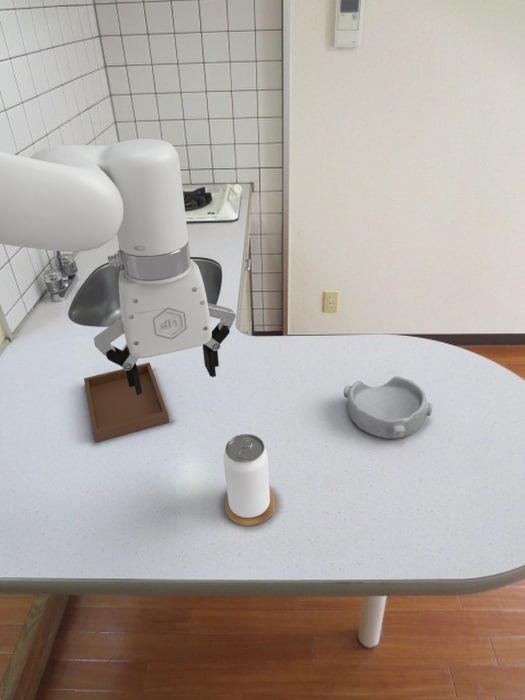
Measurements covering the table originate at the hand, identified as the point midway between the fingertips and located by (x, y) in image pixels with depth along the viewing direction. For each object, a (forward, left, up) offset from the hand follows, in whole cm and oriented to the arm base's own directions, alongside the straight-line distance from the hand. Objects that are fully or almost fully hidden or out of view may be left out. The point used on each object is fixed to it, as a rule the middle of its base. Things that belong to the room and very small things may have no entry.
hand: (174, 379), depth 68 cm
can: (+5, -7, -25) cm, 26 cm away
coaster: (+5, -7, -25) cm, 26 cm away
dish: (+35, -17, -25) cm, 46 cm away
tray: (+12, +28, -25) cm, 39 cm away
